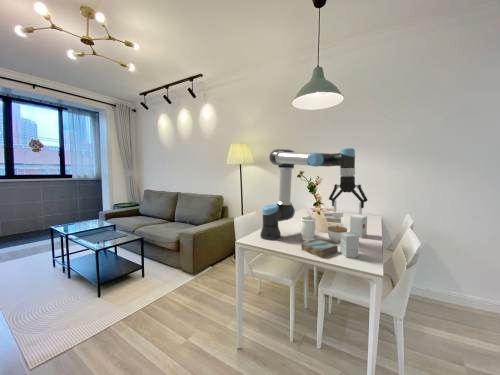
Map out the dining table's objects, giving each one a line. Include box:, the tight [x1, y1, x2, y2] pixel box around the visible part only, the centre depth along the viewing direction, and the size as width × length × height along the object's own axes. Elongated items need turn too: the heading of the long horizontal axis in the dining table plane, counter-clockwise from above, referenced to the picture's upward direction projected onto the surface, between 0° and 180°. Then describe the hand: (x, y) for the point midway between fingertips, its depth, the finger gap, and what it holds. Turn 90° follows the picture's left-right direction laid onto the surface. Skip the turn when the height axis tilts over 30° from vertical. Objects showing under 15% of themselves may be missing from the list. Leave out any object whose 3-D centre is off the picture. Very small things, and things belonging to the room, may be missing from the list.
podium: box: [301, 239, 339, 259], centre depth 133 cm, size 15×15×4 cm
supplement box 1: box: [339, 231, 360, 258], centre depth 126 cm, size 7×7×13 cm
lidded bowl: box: [327, 224, 348, 244], centre depth 151 cm, size 13×13×11 cm
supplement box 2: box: [349, 214, 368, 239], centre depth 162 cm, size 9×9×15 cm
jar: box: [299, 216, 316, 242], centre depth 155 cm, size 11×10×15 cm
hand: (347, 213), depth 125 cm, fingers open, 13 cm apart
